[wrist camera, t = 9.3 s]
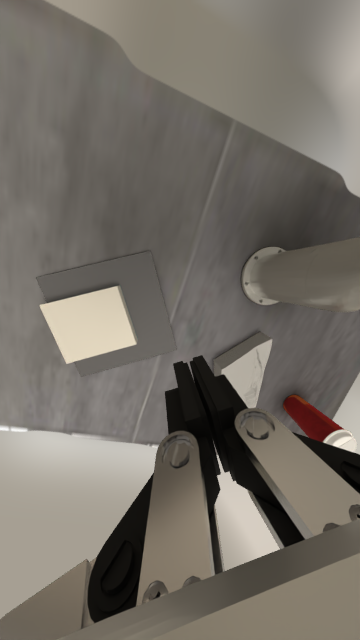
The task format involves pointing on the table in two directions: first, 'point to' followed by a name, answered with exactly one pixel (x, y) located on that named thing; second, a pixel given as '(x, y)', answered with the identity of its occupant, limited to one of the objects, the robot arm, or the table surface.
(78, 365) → the mat
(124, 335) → the tile
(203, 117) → the table surface
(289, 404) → the paper cup
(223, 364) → the ramp
